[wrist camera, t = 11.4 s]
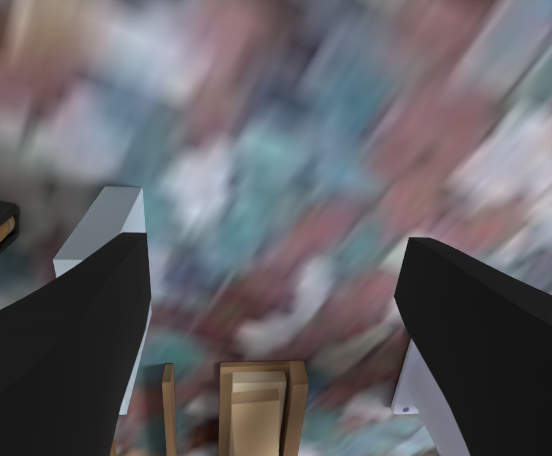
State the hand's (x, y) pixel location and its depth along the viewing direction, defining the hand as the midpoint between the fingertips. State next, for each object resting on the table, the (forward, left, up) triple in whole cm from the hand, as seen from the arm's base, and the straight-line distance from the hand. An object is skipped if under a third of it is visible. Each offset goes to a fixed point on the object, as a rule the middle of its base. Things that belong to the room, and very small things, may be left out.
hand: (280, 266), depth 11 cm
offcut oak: (-1, +19, -9) cm, 21 cm away
